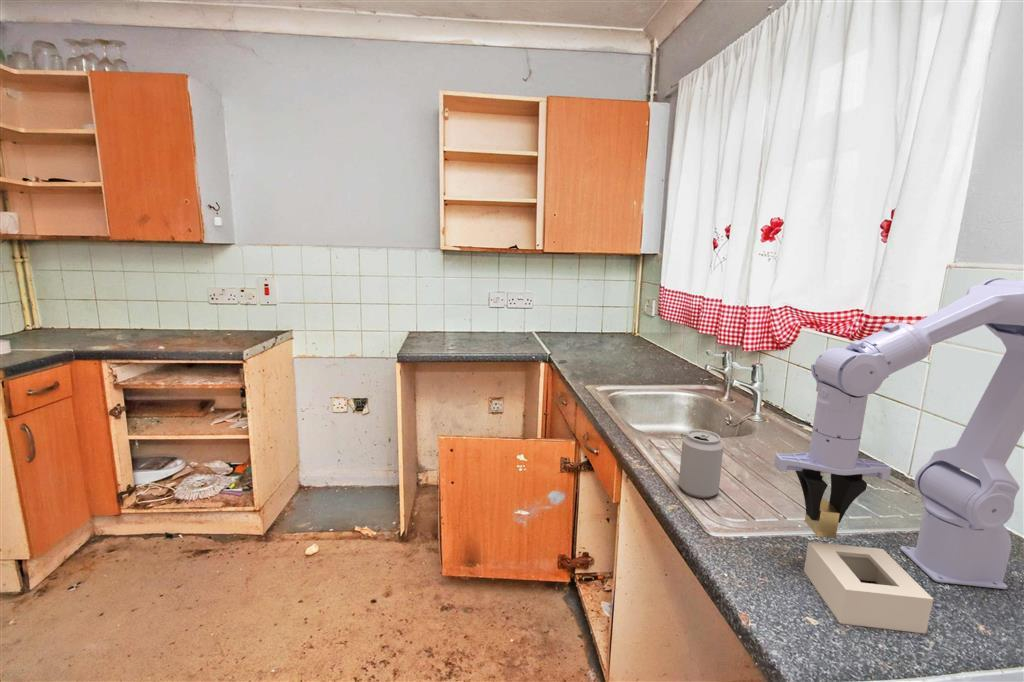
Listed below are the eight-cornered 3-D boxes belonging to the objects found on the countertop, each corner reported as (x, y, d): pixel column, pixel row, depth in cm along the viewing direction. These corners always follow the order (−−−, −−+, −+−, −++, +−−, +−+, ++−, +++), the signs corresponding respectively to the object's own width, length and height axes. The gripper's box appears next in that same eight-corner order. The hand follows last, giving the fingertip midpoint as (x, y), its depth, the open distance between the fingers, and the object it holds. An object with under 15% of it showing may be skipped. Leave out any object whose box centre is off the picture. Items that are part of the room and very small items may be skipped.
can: (671, 490, 93) (676, 433, 90) (688, 477, 98) (693, 424, 96) (708, 504, 88) (715, 445, 85) (724, 490, 93) (730, 434, 90)
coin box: (876, 579, 68) (882, 548, 67) (925, 633, 58) (933, 599, 57) (803, 571, 70) (808, 541, 69) (839, 623, 60) (845, 589, 59)
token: (822, 522, 71) (826, 498, 70) (835, 538, 67) (839, 513, 67) (804, 520, 72) (808, 497, 71) (817, 536, 68) (820, 511, 67)
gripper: (875, 425, 69) (860, 508, 72) (771, 418, 71) (760, 499, 74) (907, 444, 62) (889, 535, 65) (790, 436, 64) (778, 524, 67)
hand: (822, 517), depth 69 cm, fingers closed on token, 2 cm apart
